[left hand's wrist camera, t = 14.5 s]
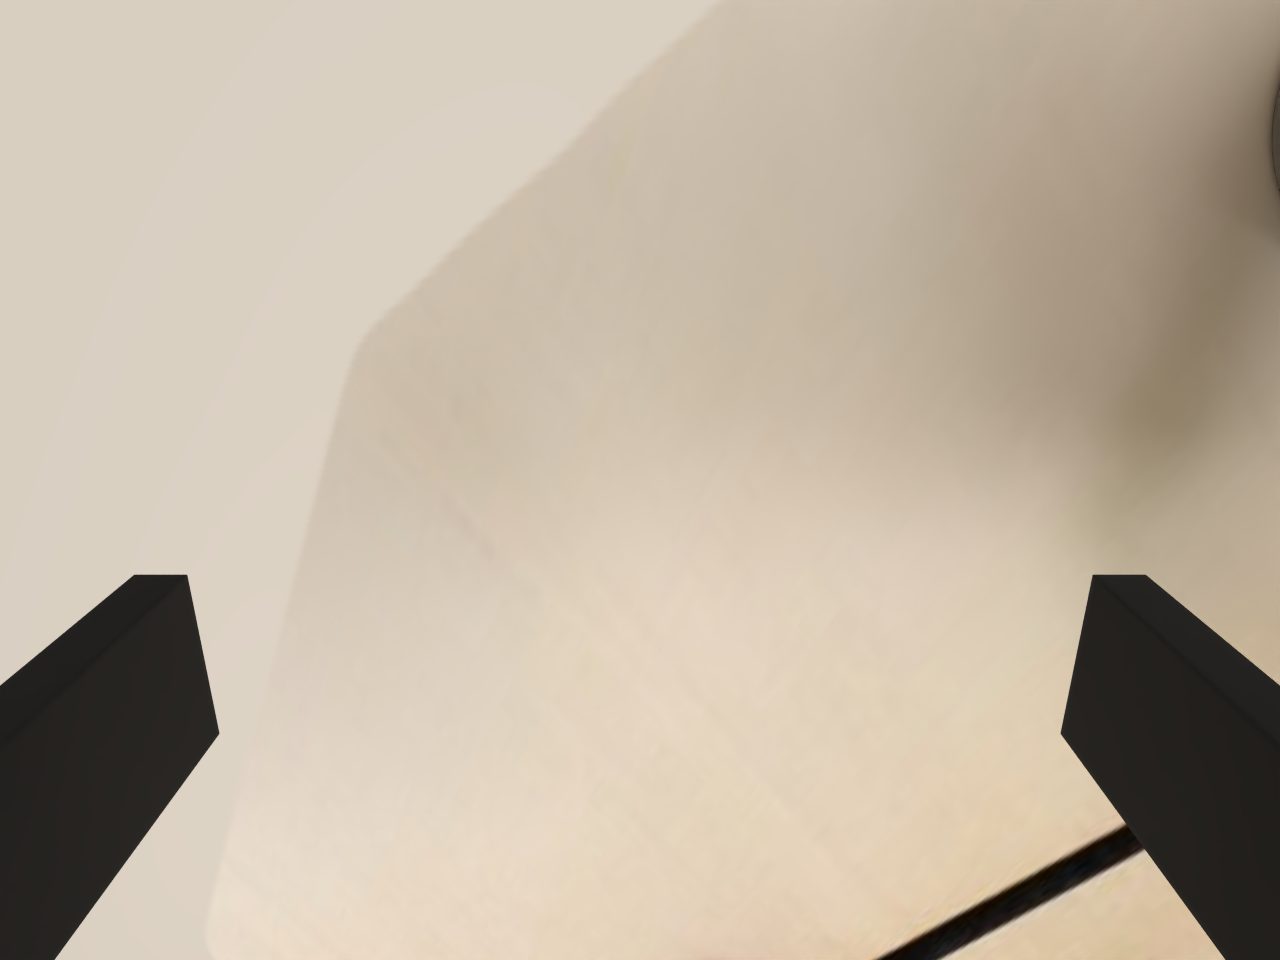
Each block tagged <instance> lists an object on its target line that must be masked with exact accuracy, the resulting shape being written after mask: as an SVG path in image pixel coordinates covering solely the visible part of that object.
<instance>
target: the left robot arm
mask: <svg viewBox="0 0 1280 960" xmlns="http://www.w3.org/2000/svg"><path fill="white" fill-rule="evenodd" d="M1272 147H1273V161H1274V169H1275V174H1276V179H1277V183H1278V187H1279V190H1280V88H1279V92H1278V96H1277V100H1276V106H1275V112H1274V119H1273V133H1272ZM218 735H219V729H218V724H217V719H216V714H215V709H214V705H213V700H212V695H211V690H210V685H209V680H208V675H207V670H206V665H205V660H204V655H203V651H202V645H201V640H200V636H199V631H198V626H197V621H196V616H195V611H194V606H193V601H192V596H191V591H190V586H189V581H188V576H187V575H133V576H132V577H131V578H130V579H129V580H127V581H126V582H125V583H124V584H123V585H121V586H120V587H119V588H118V589H117V590H115V591H114V592H113V593H112V594H110V595H109V596H108V597H107V598H106V599H104V600H103V601H102V602H101V603H100V604H98V605H97V606H96V607H95V608H94V609H92V610H91V611H90V612H89V613H87V614H86V615H85V616H84V617H83V618H82V619H80V620H79V621H78V622H77V623H75V624H74V625H73V626H72V627H71V628H69V629H68V630H67V631H66V632H65V633H63V634H62V635H61V636H60V637H58V638H57V639H56V640H55V641H54V642H52V643H51V644H50V645H49V646H48V647H46V648H45V649H44V650H43V651H42V652H40V653H39V654H38V655H37V656H35V657H34V658H33V659H32V660H31V661H29V662H28V663H27V664H26V665H25V666H23V667H22V668H21V669H20V670H19V671H17V672H16V673H15V674H14V675H13V676H11V677H10V678H9V679H8V680H6V681H5V682H4V683H3V684H2V685H0V960H55V958H56V957H57V956H58V954H59V953H60V952H61V950H62V949H63V947H64V946H65V945H66V943H67V942H68V941H69V939H70V938H71V936H72V935H73V934H74V932H75V931H76V930H77V928H78V927H79V925H80V924H81V923H82V921H83V920H84V919H85V917H86V916H87V914H88V913H89V912H90V910H91V909H92V908H93V906H94V905H95V903H96V902H97V901H98V899H99V898H100V897H101V895H102V894H103V893H104V891H105V890H106V888H107V887H108V886H109V884H110V883H111V882H112V880H113V879H114V877H115V876H116V875H117V873H118V872H119V871H120V869H121V868H122V867H123V865H124V864H125V862H126V861H127V860H128V858H129V857H130V856H131V854H132V853H133V851H134V850H135V849H136V847H137V846H138V845H139V843H140V842H141V840H142V839H143V838H144V836H145V835H146V834H147V832H148V831H149V829H150V828H151V827H152V825H153V824H154V823H155V821H156V820H157V819H158V817H159V816H160V814H161V813H162V812H163V810H164V809H165V808H166V806H167V805H168V803H169V802H170V801H171V799H172V798H173V796H174V795H175V794H176V792H177V791H178V790H179V788H180V787H181V786H182V784H183V783H184V781H185V780H186V779H187V777H188V776H189V775H190V773H191V772H192V770H193V769H194V768H195V766H196V765H197V764H198V762H199V761H200V759H201V758H202V757H203V755H204V754H205V753H206V751H207V750H208V749H209V747H210V746H211V744H212V743H213V742H214V740H215V739H216V738H217V736H218ZM1061 735H1062V736H1063V738H1064V739H1065V740H1066V742H1067V743H1068V744H1069V746H1070V747H1071V749H1072V750H1073V751H1074V753H1075V754H1076V755H1077V757H1078V758H1079V760H1080V761H1081V762H1082V764H1083V765H1084V766H1085V768H1086V769H1087V771H1088V772H1089V773H1090V775H1091V776H1092V777H1093V779H1094V780H1095V781H1096V783H1097V784H1098V786H1099V787H1100V788H1101V790H1102V791H1103V792H1104V794H1105V795H1106V797H1107V798H1108V799H1109V801H1110V802H1111V803H1112V805H1113V806H1114V808H1115V809H1116V810H1117V812H1118V813H1119V814H1120V816H1121V817H1122V819H1123V820H1124V821H1125V823H1126V824H1127V825H1128V827H1129V828H1130V829H1131V831H1132V832H1133V834H1134V835H1135V836H1136V838H1137V839H1138V840H1139V842H1140V843H1141V845H1142V846H1143V847H1144V849H1145V850H1146V851H1147V853H1148V854H1149V856H1150V857H1151V858H1152V860H1153V861H1154V862H1155V864H1156V865H1157V867H1158V868H1159V869H1160V871H1161V872H1162V873H1163V875H1164V876H1165V877H1166V879H1167V880H1168V882H1169V883H1170V884H1171V886H1172V887H1173V888H1174V890H1175V891H1176V893H1177V894H1178V895H1179V897H1180V898H1181V899H1182V901H1183V902H1184V904H1185V905H1186V906H1187V908H1188V909H1189V910H1190V912H1191V913H1192V915H1193V916H1194V917H1195V919H1196V920H1197V921H1198V923H1199V924H1200V925H1201V927H1202V928H1203V930H1204V931H1205V932H1206V934H1207V935H1208V936H1209V938H1210V939H1211V941H1212V942H1213V943H1214V945H1215V946H1216V947H1217V949H1218V950H1219V952H1220V953H1221V954H1222V956H1223V957H1224V958H1225V960H1280V685H1278V684H1277V683H1276V682H1275V681H1274V680H1272V679H1271V678H1270V677H1269V676H1267V675H1266V674H1265V673H1264V672H1263V671H1261V670H1260V669H1259V668H1258V667H1257V666H1255V665H1254V664H1253V663H1252V662H1251V661H1249V660H1248V659H1247V658H1246V657H1245V656H1243V655H1242V654H1241V653H1240V652H1238V651H1237V650H1236V649H1235V648H1234V647H1232V646H1231V645H1230V644H1229V643H1228V642H1226V641H1225V640H1224V639H1223V638H1222V637H1220V636H1219V635H1218V634H1217V633H1215V632H1214V631H1213V630H1212V629H1211V628H1209V627H1208V626H1207V625H1206V624H1205V623H1203V622H1202V621H1201V620H1200V619H1199V618H1197V617H1196V616H1195V615H1194V614H1193V613H1191V612H1190V611H1189V610H1188V609H1186V608H1185V607H1184V606H1183V605H1182V604H1180V603H1179V602H1178V601H1177V600H1176V599H1174V598H1173V597H1172V596H1171V595H1170V594H1168V593H1167V592H1166V591H1165V590H1163V589H1162V588H1161V587H1160V586H1159V585H1157V584H1156V583H1155V582H1154V581H1153V580H1151V579H1150V578H1149V577H1148V576H1147V575H1093V576H1092V581H1091V586H1090V591H1089V596H1088V601H1087V606H1086V611H1085V616H1084V621H1083V626H1082V631H1081V636H1080V640H1079V645H1078V650H1077V655H1076V660H1075V665H1074V670H1073V675H1072V680H1071V685H1070V690H1069V695H1068V700H1067V705H1066V709H1065V714H1064V719H1063V724H1062V729H1061Z"/></svg>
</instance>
